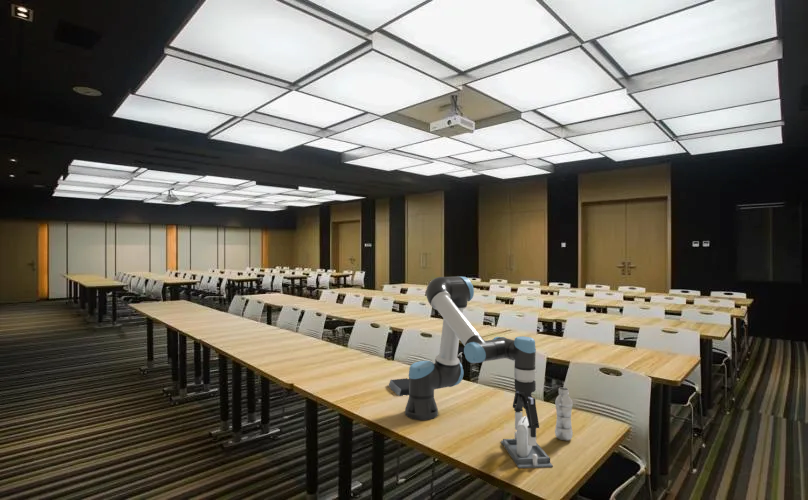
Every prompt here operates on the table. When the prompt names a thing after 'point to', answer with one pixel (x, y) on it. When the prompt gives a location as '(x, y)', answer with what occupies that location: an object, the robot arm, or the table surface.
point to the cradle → (533, 460)
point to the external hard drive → (400, 386)
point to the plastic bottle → (563, 415)
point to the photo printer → (523, 438)
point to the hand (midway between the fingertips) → (525, 437)
